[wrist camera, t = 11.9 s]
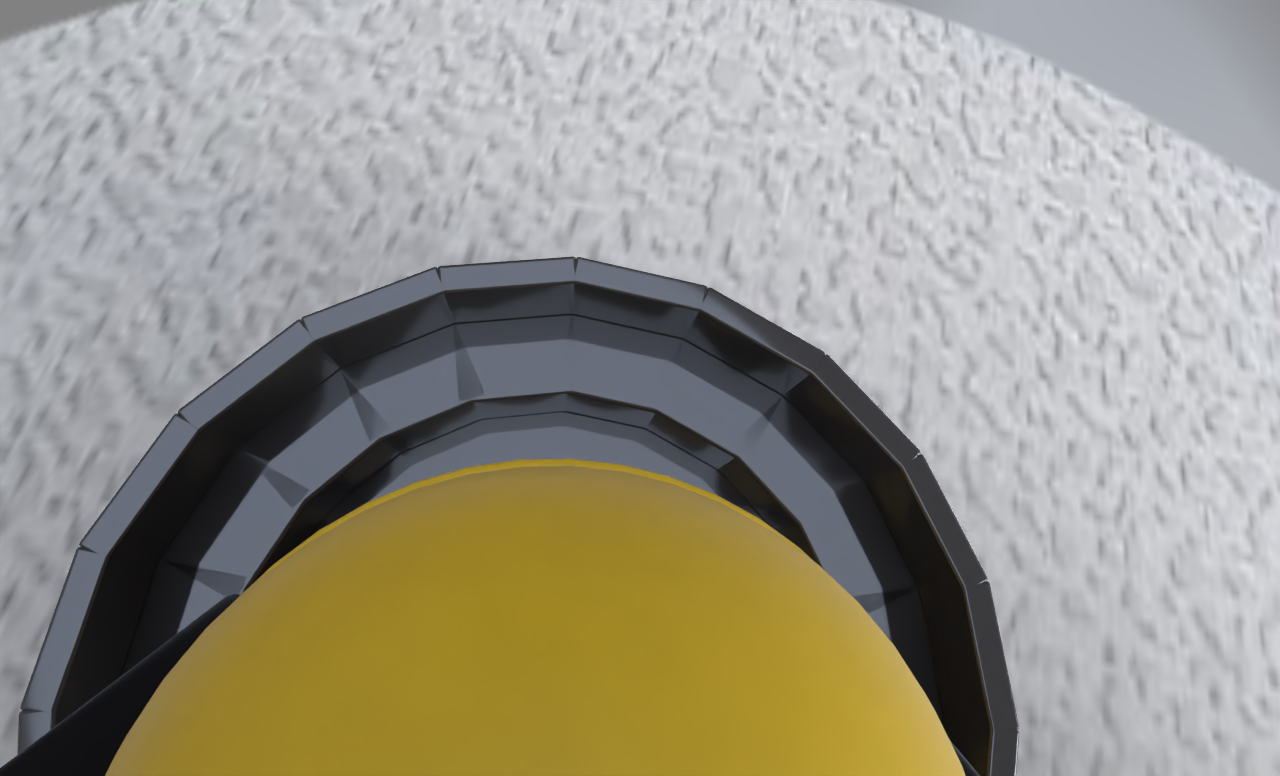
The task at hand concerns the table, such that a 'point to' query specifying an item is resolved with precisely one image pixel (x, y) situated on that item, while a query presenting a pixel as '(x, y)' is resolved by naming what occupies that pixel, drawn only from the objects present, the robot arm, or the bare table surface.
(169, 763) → the pepper
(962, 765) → the robot arm
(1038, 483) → the table surface
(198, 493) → the dark grey frying pan
